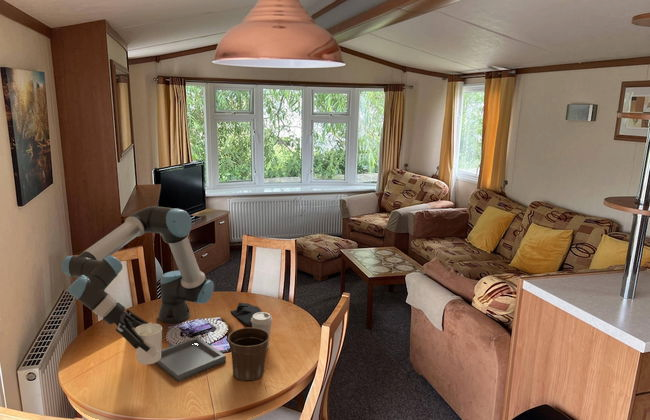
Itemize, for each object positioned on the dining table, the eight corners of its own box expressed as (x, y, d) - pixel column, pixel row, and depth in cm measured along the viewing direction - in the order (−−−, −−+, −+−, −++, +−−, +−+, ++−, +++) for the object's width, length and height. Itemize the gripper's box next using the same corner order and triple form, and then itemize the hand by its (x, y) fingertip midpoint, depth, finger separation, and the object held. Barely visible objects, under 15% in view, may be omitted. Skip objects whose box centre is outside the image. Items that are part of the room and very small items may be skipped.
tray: (150, 360, 200) (150, 353, 200) (197, 342, 216) (197, 336, 215) (178, 382, 186) (177, 375, 185) (225, 361, 201) (225, 355, 200)
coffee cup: (268, 353, 209) (268, 321, 206) (247, 350, 211) (247, 319, 208) (274, 343, 218) (275, 312, 215) (254, 340, 220) (255, 310, 217)
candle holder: (139, 352, 183) (138, 323, 180) (166, 351, 183) (165, 323, 181) (131, 366, 173) (130, 335, 170) (159, 365, 174) (158, 335, 171)
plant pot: (244, 358, 204) (244, 323, 201) (276, 368, 198) (277, 332, 194) (219, 377, 190) (219, 339, 187) (253, 388, 183) (254, 350, 180)
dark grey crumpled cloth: (242, 329, 231) (242, 320, 230) (229, 311, 250) (229, 303, 249) (272, 324, 238) (272, 315, 237) (257, 307, 257) (257, 298, 256)
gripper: (109, 304, 182) (155, 340, 188) (93, 331, 161) (145, 370, 167) (123, 290, 182) (168, 326, 188) (109, 315, 161) (161, 355, 167)
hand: (157, 347), depth 178 cm, fingers closed on candle holder, 9 cm apart
